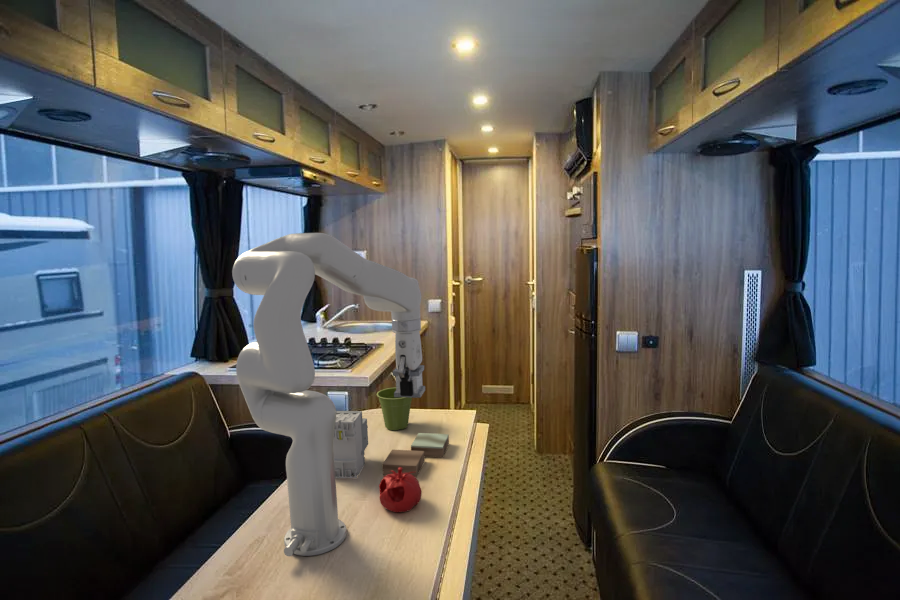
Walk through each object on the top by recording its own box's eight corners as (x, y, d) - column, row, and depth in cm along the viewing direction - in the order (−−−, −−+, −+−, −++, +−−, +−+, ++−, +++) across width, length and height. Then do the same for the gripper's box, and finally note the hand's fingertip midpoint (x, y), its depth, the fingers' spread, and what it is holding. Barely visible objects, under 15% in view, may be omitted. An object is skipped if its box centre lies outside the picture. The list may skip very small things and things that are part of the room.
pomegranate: (402, 490, 130) (401, 454, 129) (430, 504, 123) (429, 466, 122) (369, 506, 123) (368, 467, 122) (397, 521, 116) (395, 481, 115)
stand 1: (416, 477, 136) (416, 466, 136) (382, 475, 138) (382, 464, 137) (424, 461, 145) (424, 451, 144) (392, 459, 146) (392, 449, 146)
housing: (420, 397, 138) (418, 371, 137) (394, 397, 140) (392, 371, 139) (425, 390, 144) (424, 365, 143) (400, 389, 145) (398, 364, 144)
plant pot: (414, 433, 165) (413, 398, 163) (376, 434, 164) (374, 399, 163) (416, 419, 176) (415, 386, 175) (380, 420, 176) (378, 387, 174)
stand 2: (443, 457, 147) (442, 447, 146) (411, 455, 149) (410, 445, 148) (448, 443, 156) (448, 434, 155) (418, 442, 157) (418, 432, 157)
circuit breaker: (370, 454, 151) (367, 403, 148) (357, 478, 137) (353, 422, 134) (344, 453, 151) (341, 403, 149) (328, 477, 137) (324, 422, 135)
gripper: (412, 332, 130) (415, 403, 133) (427, 318, 147) (430, 381, 150) (382, 332, 131) (386, 402, 134) (401, 318, 148) (404, 381, 151)
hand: (409, 390), depth 142 cm, fingers closed on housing, 6 cm apart
